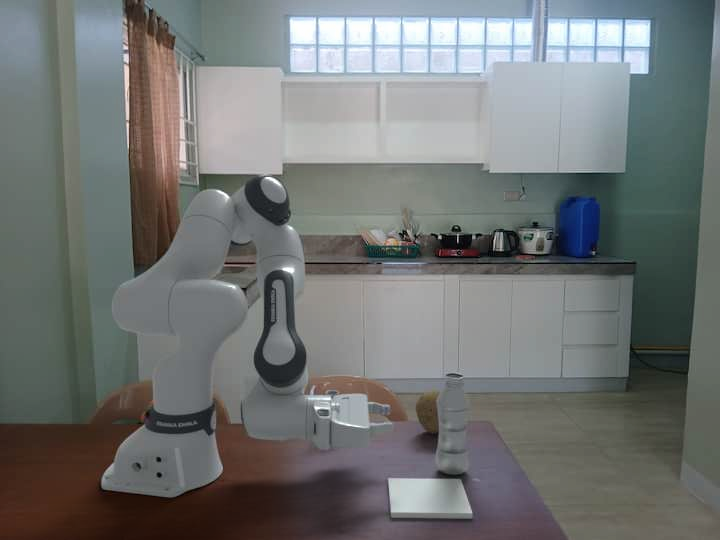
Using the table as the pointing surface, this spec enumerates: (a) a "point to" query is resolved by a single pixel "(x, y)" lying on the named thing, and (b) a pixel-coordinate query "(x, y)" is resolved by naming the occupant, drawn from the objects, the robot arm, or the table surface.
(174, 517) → the table surface
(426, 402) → the natural sponge
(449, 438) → the plastic bottle
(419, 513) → the bottle pad
